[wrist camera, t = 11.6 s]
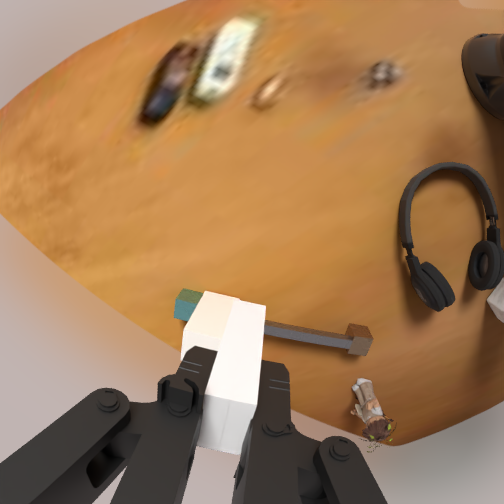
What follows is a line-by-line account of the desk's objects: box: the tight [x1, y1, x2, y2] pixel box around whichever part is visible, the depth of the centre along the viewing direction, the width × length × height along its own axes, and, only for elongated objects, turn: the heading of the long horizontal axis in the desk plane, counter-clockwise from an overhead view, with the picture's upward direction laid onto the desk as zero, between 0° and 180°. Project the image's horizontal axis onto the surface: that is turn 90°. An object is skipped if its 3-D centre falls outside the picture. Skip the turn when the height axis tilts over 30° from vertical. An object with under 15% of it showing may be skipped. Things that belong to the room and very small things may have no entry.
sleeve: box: [181, 291, 240, 360], centre depth 37 cm, size 5×4×11 cm
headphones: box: [399, 162, 504, 312], centre depth 35 cm, size 17×7×20 cm
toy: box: [351, 378, 397, 452], centre depth 38 cm, size 6×6×15 cm
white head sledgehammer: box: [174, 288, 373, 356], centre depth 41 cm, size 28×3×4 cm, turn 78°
